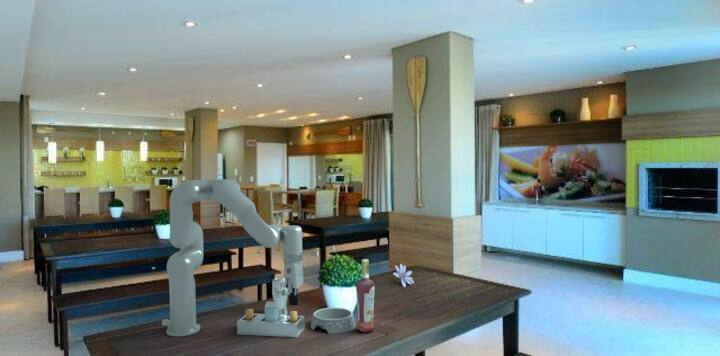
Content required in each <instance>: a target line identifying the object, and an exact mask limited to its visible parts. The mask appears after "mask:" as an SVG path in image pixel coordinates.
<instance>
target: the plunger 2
mask: <svg viewBox="0 0 720 356" xmlns="http://www.w3.org/2000/svg"><path fill="white" fill-rule="evenodd" d="M288 313H289V314H288V315H289V318H290V323H296V322H297V316H298V311H297V310H289V312H288Z"/></svg>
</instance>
